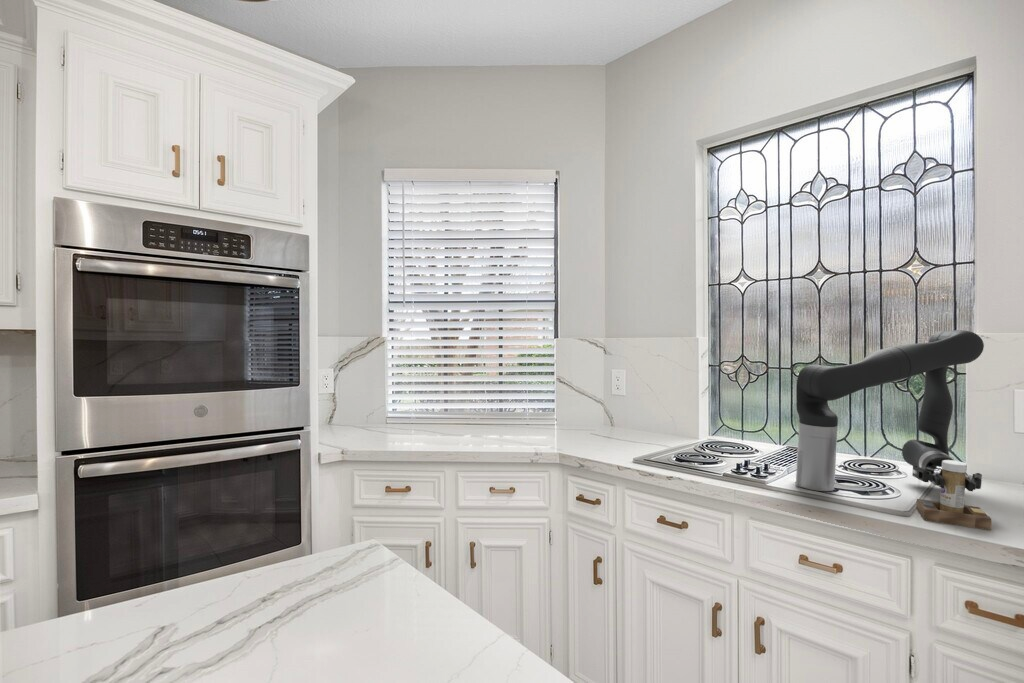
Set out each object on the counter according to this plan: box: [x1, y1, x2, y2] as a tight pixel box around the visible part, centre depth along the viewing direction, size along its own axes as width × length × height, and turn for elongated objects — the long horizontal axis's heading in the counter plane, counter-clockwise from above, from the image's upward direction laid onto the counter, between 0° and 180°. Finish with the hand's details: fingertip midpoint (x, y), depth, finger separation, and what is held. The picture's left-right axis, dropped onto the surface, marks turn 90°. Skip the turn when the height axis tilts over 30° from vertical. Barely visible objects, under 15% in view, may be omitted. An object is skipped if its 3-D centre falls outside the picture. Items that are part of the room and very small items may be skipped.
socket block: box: [915, 498, 992, 531], centre depth 129 cm, size 12×9×2 cm
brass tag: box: [970, 508, 986, 515], centre depth 127 cm, size 2×3×1 cm, turn 153°
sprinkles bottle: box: [939, 459, 968, 513], centre depth 129 cm, size 5×5×13 cm
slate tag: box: [921, 501, 935, 507], centre depth 131 cm, size 2×3×1 cm, turn 153°
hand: (956, 485), depth 126 cm, fingers open, 4 cm apart
